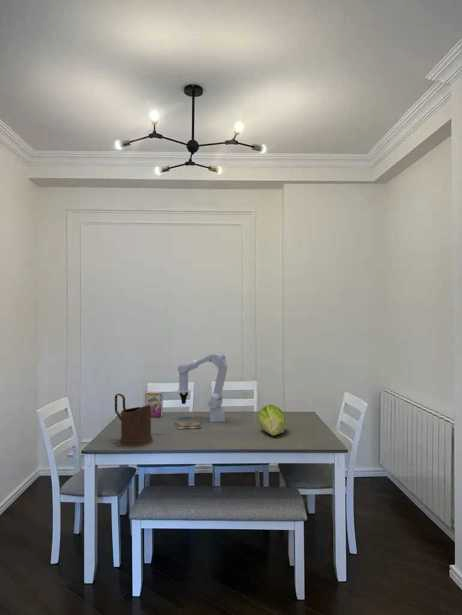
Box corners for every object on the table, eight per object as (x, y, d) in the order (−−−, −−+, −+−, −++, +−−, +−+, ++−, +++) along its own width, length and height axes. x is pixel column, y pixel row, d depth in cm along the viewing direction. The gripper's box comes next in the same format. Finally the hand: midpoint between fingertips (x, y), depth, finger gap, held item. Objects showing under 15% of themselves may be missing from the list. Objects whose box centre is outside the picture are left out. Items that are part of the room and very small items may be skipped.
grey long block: (202, 425, 298) (202, 421, 298) (202, 426, 296) (202, 421, 296) (174, 426, 297) (174, 422, 297) (174, 427, 295) (174, 422, 295)
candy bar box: (144, 417, 322) (144, 392, 322) (146, 415, 327) (146, 391, 327) (161, 417, 321) (161, 393, 321) (162, 416, 326) (162, 391, 326)
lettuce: (288, 444, 269) (259, 446, 270) (285, 421, 293) (259, 423, 294) (286, 420, 264) (257, 422, 266) (283, 399, 288) (256, 401, 289)
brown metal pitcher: (138, 448, 250) (138, 399, 250) (103, 442, 261) (103, 396, 262) (160, 439, 266) (160, 394, 266) (126, 434, 278) (126, 391, 278)
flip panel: (200, 422, 297) (200, 425, 285) (200, 425, 297) (200, 427, 285) (177, 423, 296) (176, 426, 284) (177, 425, 296) (176, 428, 284)
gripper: (177, 381, 321) (177, 401, 321) (177, 384, 306) (177, 406, 306) (188, 381, 322) (188, 401, 322) (188, 384, 307) (188, 405, 307)
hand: (183, 403), depth 314 cm, fingers closed
